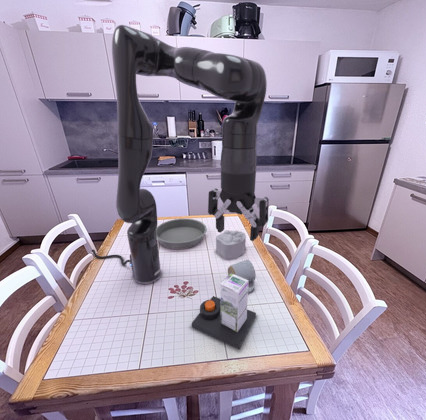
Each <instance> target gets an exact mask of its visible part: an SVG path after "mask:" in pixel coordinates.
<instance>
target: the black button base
mask: <svg viewBox="0 0 426 420" xmlns="http://www.w3.org/2000/svg"><path fill="white" fill-rule="evenodd" d="M209 300H211V301H214V302H215V309H214V310H213V311H212V312H208V311H206V310H205V303H206V302H207V301H209ZM256 316H257V312H255V311H254V310H253V311H252V310H251V309H247V319H246V321H245V322H244V323H243V325H242V326H241V328H240V329H239V330H238V332H235V331H234V330H232V329H230V328H228V327H227V326H225V325H223V324H221V299H220V297H218V296H214V295H212V297H211V298H210V299H206V300H204V301H202V302H201V304H200V305H199V313H198V315H197V316H196V317H195V318H194V320H192V322H191V328H192V329H194V330H197V331H199V332H201V333H203V334H205V335H208V336H210V337H211V338H213V339H215V340H218V341H220V342H222V343H224V344H226V345H229V346H230V347H233V348H235V349H237V350H241V347H242V345H243V343H244V341H245V339H246V337H247V335H248V333H249V332H250V329H251V328H252V325H253V324H254V321H255V319H256Z"/></svg>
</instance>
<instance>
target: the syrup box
mask: <svg viewBox="0 0 426 420" xmlns="http://www.w3.org/2000/svg"><path fill="white" fill-rule="evenodd" d="M249 283H250V282H249V281H248V280H246V279H244V278H242V277H239V276H237V275H235V274H232V273H231V274H230V275H229V276H228V275H227V276H226V277H225V278H224V279H223V280H222V282H221V283H220V285H219V286H220V287H219V289H220V291H219V292H220V294H219V295H220V297H219V298H220V299H221V324H223V325H225V326H227V327H228V328H230V329H232V330H234V331H235V332H238V330H239V329H240V328H241V326H242V325H243V323H244V322H245V321H246V319H247V310H248V299H249V293H248V290H249Z"/></svg>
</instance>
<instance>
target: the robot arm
mask: <svg viewBox="0 0 426 420" xmlns="http://www.w3.org/2000/svg"><path fill="white" fill-rule="evenodd" d="M111 56H112V66H113V67H112V69H113V74H114V75H113V76H114V85H115V86H114V87H115V94H116V113H117V115H116V116H117V117H116V120H117V125H116V126H117V127H116V128H117V129H116V130H117V136H116V137H117V155H118V157H117V158H118V161H117V163H118V165H117V166H118V170H117V171H118V173H117V176H118V177H117V189H116V199H115V200H116V201H115V204H116V205H115V206H116V211H117V214H118V216H119V218H120V220H122V222H124V223H125V224H130V225H129V227H128V229H127V230H126V235H127V241H128V246H129V251H130V254H129V259H126V260H125V261H124V258H123V257H122V256H121V255H119V254H110V255H109V254H108V255H104V256H102V255H101V256H100V255H98V254H97V253H96V250H95V249H91V253H93V256H94V257H95V258H97V259H109V258H119V259H120V262H121V265H122V266H125V265H127V263H129V265H130V267H131V272H132V277H133V278H134V280H135V282H136V283H137V284H140V285H150V284H153V283H156V282H157V281H158V280H159V279H160V278H161V277H162V269H161V261H160V252H159V243H158V239H157V236H156V228H157V227H158V210H157V202H156V199H155V197H154V195H153V194H152V192H151V191H150V190H148V189H146V188H141V184H142V180H143V177H144V175H145V172H146V171H147V168H148V166H149V164H150V161H151V158H152V155H153V148H154V147H153V146H154V129H153V126H152V123H151V120H150V119H149V117H148V115H147V113H146V112H145V109H144V108H143V106H142V105H143V104H141V101H140V98H139V94H138V87H137V75H139V76H144V77H169V78H173V79H175V80H176V81H178V82H180V83H182V84H184V85H186V86H188V87H192V88H195V89H197V90H202V91H205V92H207V93H209V94H211V95H213V96H215V97H217V98H220V99H222V100H226V101H230V102H234V106H233V110H232V113H231V114H229V115H227V116H225V117H224V118H223V120H222V123H221V152H220V190H219V189H218V188H216V187H215V188H213V189H211V190H210V191H208V199H207V200H208V203H207V214H208V215H210V216H214V218H215V229H216V230H217V233H220V234H222V233H223V232H224V231H225V215H224V214H225V213H226V212H229V213H231V214H233V213H235V214H237V215H240V216H241V215H243V216H244V219H246V220H247V221H248V222H249V223H250V233H249V241H251V242H254V241H255V240H257V239H258V237H259V235H260V227H262V228H263V227H264V226H266V224H268V222H269V203H270V202H269V200H270V199H269V198H268V196H264V197H263V198H261V197H256V194H255V193H256V192H255V191H256V176H257V161H258V159H257V158H258V156H257V155H258V154H257V141H258V140H257V138H258V137H257V136H258V124H259V121H260V117H261V115H262V110H263V106H264V103H265V99H266V95H267V87H268V85H267V81H268V80H267V74H266V71H265V68H264V67H263V65H261V64H260V63H259V62H257V61H256V60H252V59H248V58H245V57H242V56H239V55H234V54H229V53H220V52H214V51H210V50H206V49H202V48H197V47H191V46H181V47H176V46H172V45H170V44H167V43H166V42H164V41H162V40H160V39H158V38H157V37H155V36H153V35H152V34H150V33H148V32H145V31H142V30H139V29H137V28H134V27H131V26H128V25H125V24H119V25H117V26H116V27H115V28H114V30H113V33H112V39H111ZM219 199H220V200H221V202H222V205H221V206H220V207H219V209H218V205H219ZM254 204H255V205H256V207H257V209H259V212H258V213H259V214H257V211H256V209H255V207H254Z"/></svg>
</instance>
